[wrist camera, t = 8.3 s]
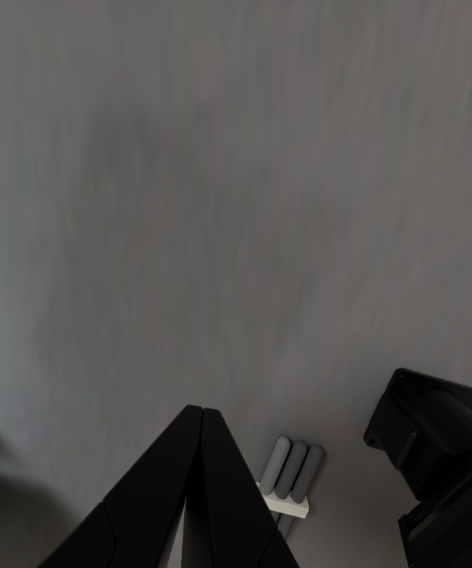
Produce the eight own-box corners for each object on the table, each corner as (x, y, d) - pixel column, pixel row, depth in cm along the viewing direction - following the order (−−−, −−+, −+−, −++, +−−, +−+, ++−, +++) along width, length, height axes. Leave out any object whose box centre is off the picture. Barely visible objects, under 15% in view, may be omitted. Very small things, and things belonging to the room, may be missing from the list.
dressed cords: (328, 445, 24) (332, 457, 23) (241, 638, 30) (241, 656, 29) (273, 430, 24) (275, 442, 23) (196, 628, 30) (194, 645, 28)
